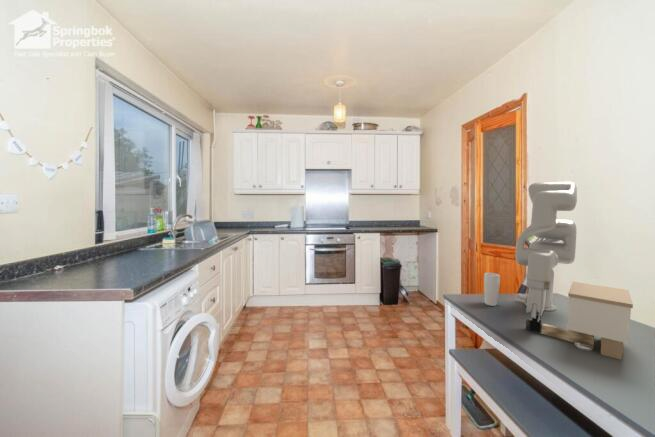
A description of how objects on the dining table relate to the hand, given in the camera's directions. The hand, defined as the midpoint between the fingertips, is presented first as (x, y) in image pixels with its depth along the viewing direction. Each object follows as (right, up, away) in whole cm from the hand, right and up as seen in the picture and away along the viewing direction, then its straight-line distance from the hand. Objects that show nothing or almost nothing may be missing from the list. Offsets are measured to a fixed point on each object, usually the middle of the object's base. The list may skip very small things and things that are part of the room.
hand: (535, 329), depth 117 cm
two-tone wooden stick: (+5, -1, -5) cm, 7 cm away
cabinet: (+14, -2, -10) cm, 18 cm away
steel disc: (+8, -2, -12) cm, 15 cm away
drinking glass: (-1, +1, +30) cm, 30 cm away
